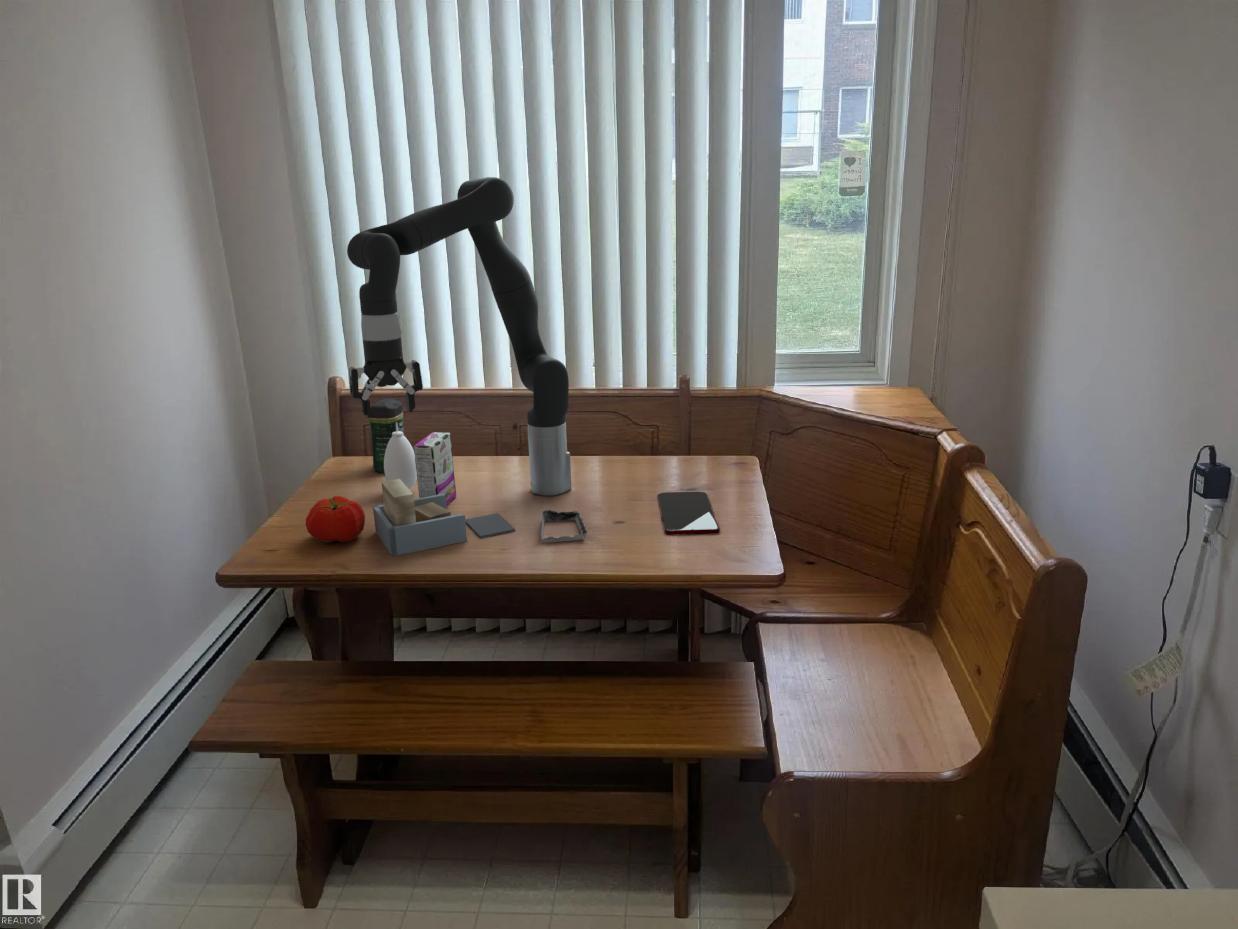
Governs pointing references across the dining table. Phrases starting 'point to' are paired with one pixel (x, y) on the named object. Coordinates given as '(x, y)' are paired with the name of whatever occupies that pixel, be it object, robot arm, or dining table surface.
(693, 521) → the smartphone
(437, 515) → the offcut block upper
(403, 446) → the sauce bottle
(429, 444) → the candy bar box
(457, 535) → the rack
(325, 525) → the tomato
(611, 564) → the dining table surface
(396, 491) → the beige hardcover book
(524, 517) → the dining table surface
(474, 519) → the mat
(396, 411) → the coffee jar
